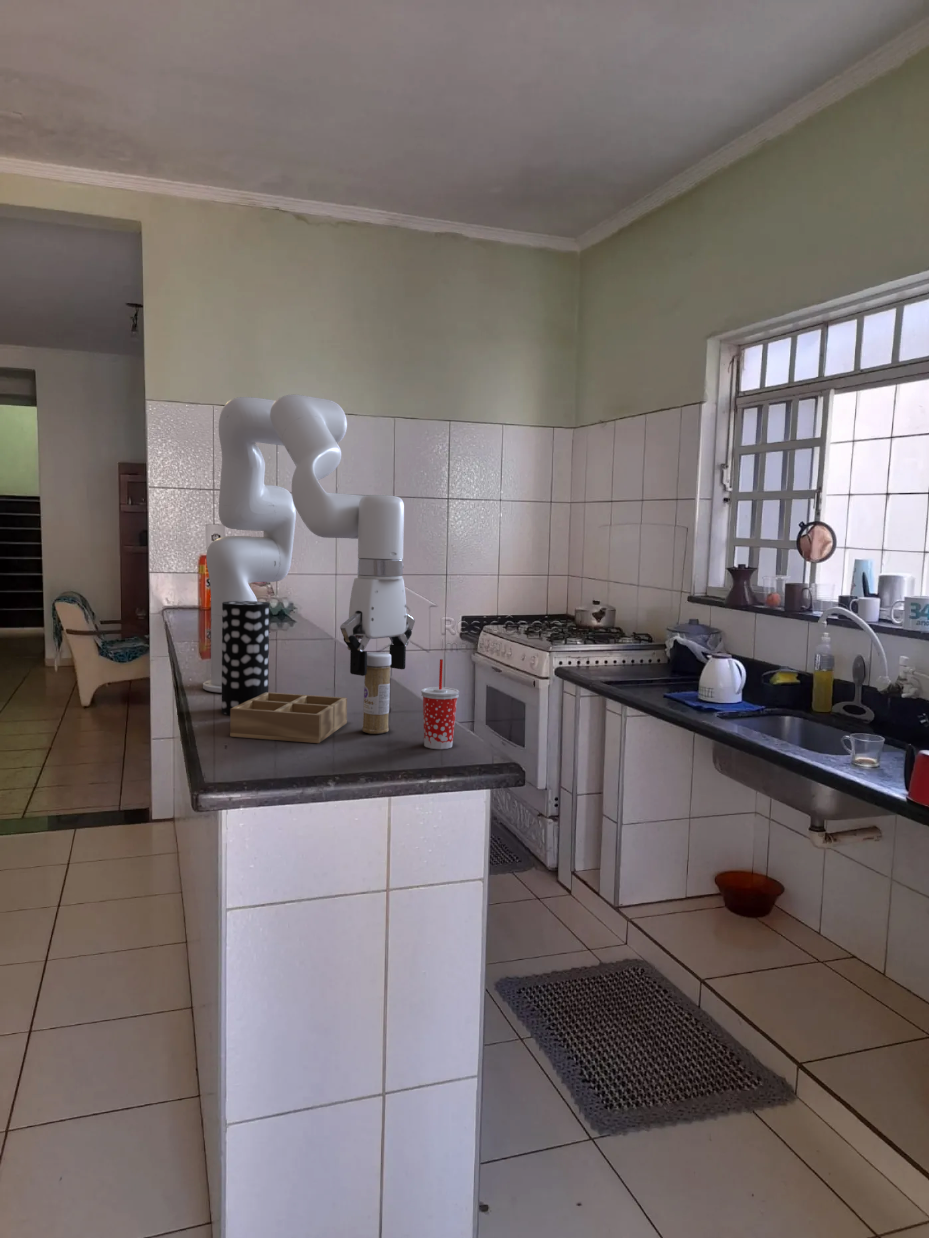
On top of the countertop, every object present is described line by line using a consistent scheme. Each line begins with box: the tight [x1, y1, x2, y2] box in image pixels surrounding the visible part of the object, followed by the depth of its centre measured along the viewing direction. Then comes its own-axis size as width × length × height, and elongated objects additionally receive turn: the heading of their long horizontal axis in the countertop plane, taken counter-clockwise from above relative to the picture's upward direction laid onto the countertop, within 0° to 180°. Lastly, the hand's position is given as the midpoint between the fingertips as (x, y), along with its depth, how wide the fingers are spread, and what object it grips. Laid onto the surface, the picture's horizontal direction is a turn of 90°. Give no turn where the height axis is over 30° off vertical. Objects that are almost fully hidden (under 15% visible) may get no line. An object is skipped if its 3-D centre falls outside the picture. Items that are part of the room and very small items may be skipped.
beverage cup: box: [420, 658, 460, 750], centre depth 138 cm, size 6×6×14 cm
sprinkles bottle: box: [361, 651, 391, 735], centre depth 146 cm, size 5×5×13 cm
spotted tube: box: [221, 600, 270, 716], centre depth 158 cm, size 8×8×20 cm
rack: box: [229, 691, 348, 744], centre depth 146 cm, size 15×15×5 cm
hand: (378, 671), depth 146 cm, fingers open, 9 cm apart
